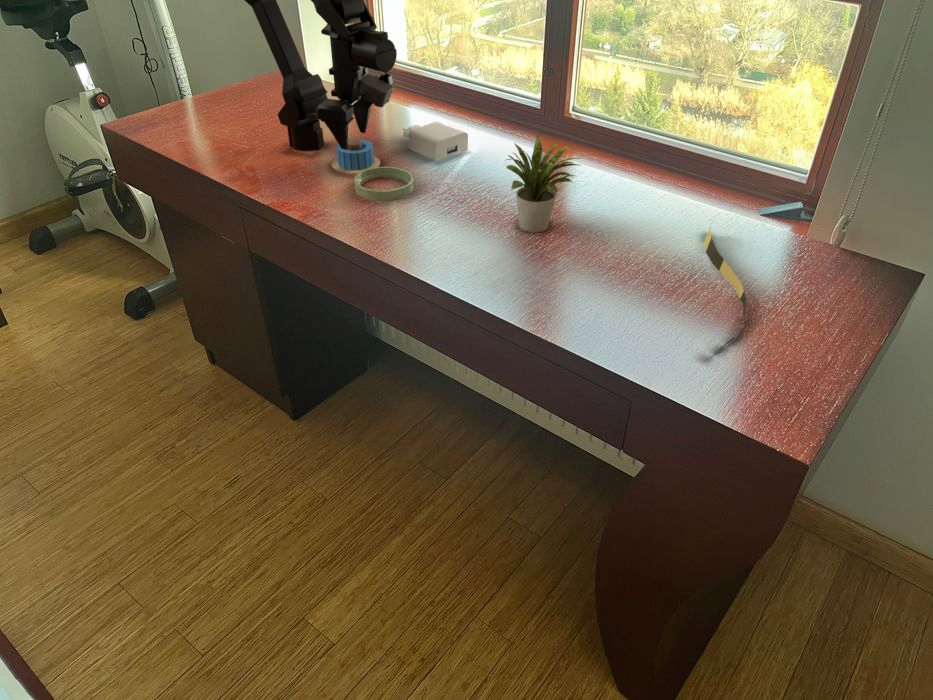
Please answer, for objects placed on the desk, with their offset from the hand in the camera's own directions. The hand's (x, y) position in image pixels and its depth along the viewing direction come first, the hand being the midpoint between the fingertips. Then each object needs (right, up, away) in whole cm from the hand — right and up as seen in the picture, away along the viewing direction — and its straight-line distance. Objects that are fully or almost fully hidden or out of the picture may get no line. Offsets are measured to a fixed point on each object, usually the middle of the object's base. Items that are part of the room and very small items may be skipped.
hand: (353, 140), depth 151 cm
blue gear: (0, -4, +3) cm, 5 cm away
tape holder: (0, -4, +3) cm, 6 cm away
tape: (+62, -34, -34) cm, 78 cm away
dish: (+7, -12, -6) cm, 15 cm away
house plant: (+35, -21, -18) cm, 44 cm away
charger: (+15, +1, +11) cm, 19 cm away
